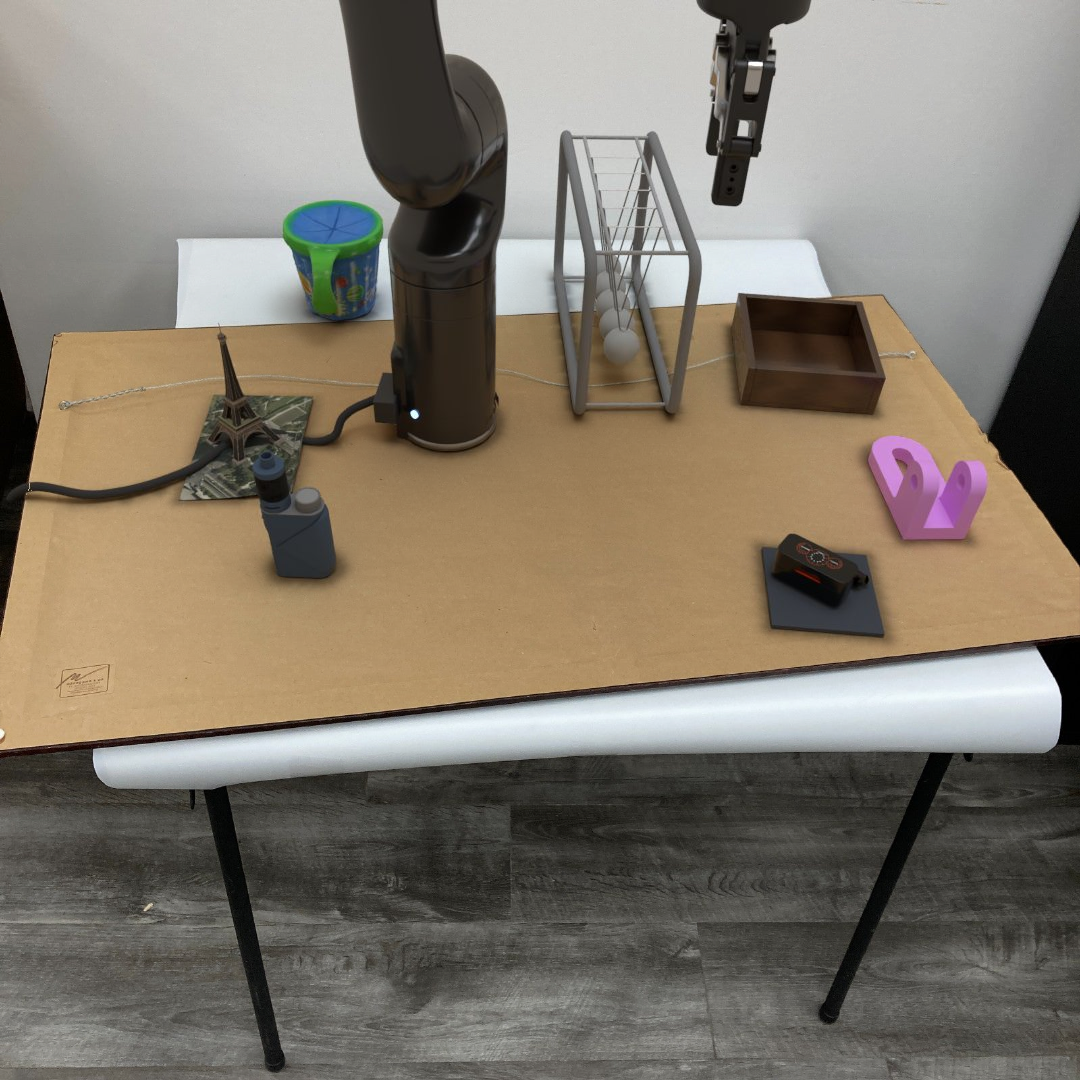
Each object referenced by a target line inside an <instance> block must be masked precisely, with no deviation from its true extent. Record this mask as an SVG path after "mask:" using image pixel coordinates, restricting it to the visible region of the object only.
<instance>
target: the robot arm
mask: <svg viewBox="0 0 1080 1080" xmlns="http://www.w3.org/2000/svg"><path fill="white" fill-rule="evenodd" d="M695 2H696V4H697V6H698V8H699V9H700V10H701V11H702V12H703V13H705V15H708V16H710V17H712V18H714V19H717V20H720V21H719V28H718V32H716V33H715V34H714V39H713V42H712V57H711V58H712V59H711V64H710V73H709V84H710V85H711V86H712V88H711V89H710V90H709V97H710V102H711V110H710V115H709V122H708V126H707V127H708V128H707V133H706V141H705V153H706V155H708V156H712V157H716V161H715V167H714V172H713V173H714V174H713V179H712V180H713V181H712V186H711V190H710V191H711V192H710V199H711V200H710V201H711V203H712V204H713V205H714V206H720V207H721V206H722V207H734V208H735V207H739V206H741V204H742V203H743V200H744V196H745V195H744V194H745V189H746V184H747V179H748V174H749V168H750V163H751V158H759V156H760V155H759V154H760V153H761V152H762V146H763V145H762V140H763V134H764V129H765V125H766V124H765V123H766V119H767V118H766V117H767V113H768V108H769V102H770V97H771V91H772V85H773V81H774V77H776V72H777V67H776V61H777V49H776V48H773V41H774V38H773V36H771V31H772V30H773V29H774V28H776V27H778V26H781V25H786V26H787V25H791V24H794V23H797V22H798V21H801V20H802V19H804V18H805V17H806V16H807V14H808V13H809V11H810V8H811V3H812V0H696V1H695ZM338 4H339V8H340V14H341V18H342V25H343V29H344V35H345V43H346V48H347V57H348V62H349V69H350V70H349V71H350V76H351V83H352V89H353V97H354V105H355V111H356V119H357V125H358V130H359V136H360V140H361V141H360V142H361V144H362V149H363V152H364V155H365V159H366V161H367V163H368V166H369V167H370V169H371V172H372V174H373V176H374V177H375V179H376V180H377V181H378V183H379V185H380V186H381V187H382V189H384V191H385V192H387V194H388V195H389V196H390V197H391V198H392V199H394V200H395V201H397V202H398V203H399V205H398V208H397V212H396V214H395V216H394V218H393V221H392V223H391V225H390V228H389V232H388V235H387V257H388V267H389V278H390V289H391V290H390V292H391V305H392V319H393V329H394V330H393V333H394V340H393V341H394V342H393V344H392V348H391V350H390V356H389V357H390V367H391V368H390V369H391V372H385V371H384V372H382V373H381V376H380V378H379V379H380V380H379V382H378V385H377V388H376V392H375V394H373V395H371V396H368V397H366V398H363V399H361V400H358V401H357V402H354V403H353V404H351V405H349V406H347V407H346V408H345V409H344V410H342V411H341V412H340V414H339V415H338V417H337V418H336V420H335V423H334V427H333V430H332V431H331V432H330V433H328V434H326V435H324V436H318V437H310V436H305V435H304V436H303V441H302V445H304V446H311V447H323V446H326V445H329V444H332V443H334V442H335V441H337V440H338V439H339V438H340V436H341V435H342V432H343V429H344V426H345V424H346V421H347V420H348V419H349V418H350V417H352V416H353V415H354V414H356V413H358V412H360V411H362V410H365V409H367V408H369V407H372V406H373V415H374V423H375V424H386V425H395V428H396V436H397V437H398V438H402V439H404V438H405V439H408V440H410V442H412V443H414V444H416V445H418V446H419V447H421V448H425V449H428V450H431V451H432V450H433V451H440V452H455V451H462V450H466V449H471V448H473V447H476V446H478V445H480V444H482V443H483V442H484V441H486V440H487V439H488V438H489V437H490V436H491V435H492V434H493V433H494V431H495V429H496V426H497V411H496V410H497V406H498V407H499V406H500V404H499V402H500V400H499V399H500V398H499V395H498V393H497V390H496V384H497V383H496V381H497V380H496V379H497V377H496V374H497V373H496V371H497V369H496V368H497V367H496V363H497V362H496V361H497V358H496V357H497V251H498V245H499V241H500V237H501V234H502V230H503V226H504V221H505V215H506V201H507V200H506V198H507V197H506V196H507V182H508V181H507V179H508V178H507V177H508V161H509V160H508V157H509V156H508V155H509V127H508V126H509V125H508V118H507V111H506V107H505V103H504V100H503V97H502V94H501V92H500V90H499V87H498V86H497V84H496V82H495V81H494V79H493V78H492V76H491V75H490V74H489V73H488V72H487V70H486V69H484V68H483V67H482V66H481V65H479V64H478V63H477V62H475V61H474V60H472V59H470V58H468V57H466V56H463V55H459V54H455V53H446V51H445V47H444V42H443V41H444V40H443V37H442V31H441V30H442V29H441V23H440V15H439V8H438V0H338ZM740 121H741V122H742V121H744V122H747V125H748V129H747V135H738V133H739V128H740ZM496 405H497V406H496ZM270 429H271V430H272V431H273V432H274V433H275V434H290V433H288V432H286V431H283V430H278V429H272V428H270ZM257 435H266V434H265V433H263V432H253V433H251V434H250V435H249V436H248V437H247V438H249V437H253V436H257ZM231 445H233V443H232V440H231V438H229V439H227V440H225V441H224V442H222V443H221V444H219V445H218V446H217V447H215V448H214V449H213V450H211V451H210V452H209V453H207V454H206V455H205V456H203V457H202V458H200V459H199V460H197V461H196V462H194V463H192V464H191V463H190V464H188V465H187V466H184V467H182V468H180V469H177V470H174V471H172V472H171V471H170V472H169V473H166V474H163V475H161V476H158V477H154V478H151V479H148V480H144V481H142V482H138V483H134V484H130V485H125V486H118V487H114V488H113V487H112V488H106V489H94V490H93V489H79V488H75V487H70V486H65V485H60V484H56V483H52V482H51V483H50V482H45V481H29V482H26V483H22V484H20V485H17V486H16V487H14V488H13V489H12V490H10V492H9V493H8V494H7V495H6V498H5V500H6V501H8V502H12V501H16V500H18V499H19V498H20V497H22V496H23V495H25V494H28V493H32V492H43V493H49V494H54V495H59V496H63V497H68V498H72V499H79V500H88V501H89V500H90V501H91V500H92V501H93V500H94V501H96V500H109V499H115V498H121V497H127V496H132V495H135V494H136V495H137V494H140V493H144V492H148V491H151V490H154V489H157V488H160V487H163V486H166V485H168V484H171V483H174V482H177V481H179V480H181V479H184V478H186V477H187V476H189V475H191V474H193V473H195V472H196V471H198V470H200V469H201V468H203V467H205V466H206V465H207V464H209V463H210V462H212V461H213V460H214V459H215V458H217V457H218V456H219V455H220V454H221V452H223V451H224V450H226V449H227V448H228V447H230V446H231ZM29 483H30V489H29ZM28 489H29V491H28ZM31 490H32V491H31Z"/></svg>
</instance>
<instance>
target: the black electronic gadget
mask: <svg viewBox="0 0 1080 1080" xmlns="http://www.w3.org/2000/svg"><path fill="white" fill-rule="evenodd" d="M777 548H778V549H777V552H776V555H775V559H774V562H773V566H772V575H773V576H774V577H776V578H778V579H780V580H782V581H784V582H786V583H787V584H789V585H791V586H793V587H795V588H797V589H799V590H801V591H803V592H805V593H807V594H809V595H811V596H813V597H815V598H816V599H818V600H820V601H822V602H824V603H826V604H828V605H830V606H832V607H838V606H839V605H841V603H842V602H843V601H844V599H845V598H846V597H847V595H848V594H849V593H850V590H851V588H852V585H853V586H854V587H855V588H858V587H860V586H861V585H862V584H864V585H866V584H868V583H869V582H870V581H871V580H870V578H869V576H868V575H865V574H864V573H862V572H861V571H860V570H858V569H859V567H858V565H857V564H856V563H854V562H852V561H850V560H848V559H846V558H844V557H842V556H840V555H838V554H836V553H837V552H836V553H834V551H831V550H830V549H828V548H826V547H824V546H822V545H819V544H817V543H815V542H814V541H811V540H810V539H808V538H805V537H803V536H801V535H799V534H798V533H797V534H796V533H789V534H787V535H786V536H785V537H784V538H783V540H782V541H781V542H780V543H779V545H778V546H777Z"/></svg>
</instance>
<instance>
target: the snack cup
mask: <svg viewBox="0 0 1080 1080" xmlns="http://www.w3.org/2000/svg"><path fill="white" fill-rule="evenodd" d="M383 237H384V221H383V218H382V216H381V214H380V213H379V212H378V211H377V210H375V209H374V208H372V207H370V206H368V205H366V204H364V203H360V202H357V201H351V200H345V199H329V200H328V199H326V200H320V201H319V200H318V201H313V202H310V203H307V204H303V205H301V206H298V207H297V208H294V209H293V210H292V211H290V212H289V213H288V214H287V215H286V216H285V218H284V219H283V222H282V238H283V240H284V243H285V244H286V245H287V246H288V247H289V249H290V250H291V253H292V259H293V261H294V265H295V268H296V272H297V276H298V278H299V281H300V283H301V287H302V290H303V293H304V297H305V300H306V302H307V304H308V307H309V309H310V312H312V313H314V314H317V315H319V316H321V317H322V318H325V319H329V320H333V321H336V322H337V321H341V320H352V319H355V318H359V317H360V316H362V315H367V314H368V313H369V312H371V309H372V308H373V307H374V305H375V302H376V297H377V295H376V294H377V284H378V276H379V261H380V260H379V259H380V245H381V242H382V239H383Z"/></svg>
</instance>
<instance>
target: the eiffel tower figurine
mask: <svg viewBox="0 0 1080 1080" xmlns="http://www.w3.org/2000/svg"><path fill="white" fill-rule="evenodd" d="M217 324H218V328H219V333H218V334H217V335H216V336H217V337H216V338H217V341H218V342H219V348H220V353H221V360H222V361H221V362H222V369H223V377H224V388H225V392H224V394H213V395H212V399H211V401H210V405H209V407H208V411H207V414H206V417H205V420H204V423H203V426H202V428H201V432H200V435H199V438H198V441H197V443H196V446H195V450H194V452H193V456H192V459H191V462H190V464H192V463H194V462H196V461H197V460H199V459H200V458H202V457H203V456H205V455H206V454H207V453H209V452H210V451H211V450H213V449H214V448H215V447H217V446H218V445H219V444H221V443H222V442H224V441H225V440H227V439H229V438H231V440H232V443H233V445H231V446H230V447H228V448H227V449H226V450H224V451H223V452H221V454H220V455H219V456H218V457H217V458H215V459H214V460H213V461H212V462H210V463H209V464H207V465H206V466H205V467H203V468H201V469H200V470H198V471H196V472H195V473H193V474H191V475H189V476H186V477H185V480H184V484H183V487H182V490H181V493H180V496H179V499H178V501H191V500H193V501H194V500H215V499H216V500H217V499H229V498H230V499H231V498H232V499H233V498H240V497H248V496H256V495H257V496H258V491H257V487H256V482H255V477H254V473H253V468H252V466H253V463H254V462H255V461H256V460H257V459H258V458H259V455H260V453H262V452H264V451H270V452H272V453H273V455H274V456H277V457H280V458H281V459H282V460H283V462H284V466H285V471H286V476H287V482H288V487H289V492H290V494H293V493H292V491H293V487H294V482H295V478H296V474H297V469H298V465H299V462H300V456H301V449H302V446H303V444H302V441H303V436H305V431H306V428H307V423H308V419H309V414H310V411H311V408H312V404H313V400H314V396H313V395H311V396H310V395H306V396H305V395H255V394H254V395H253V394H252V395H251V394H248V395H247V394H244V392H243V391H242V388H241V385H240V383H239V380H238V377H237V374H236V370H235V367H234V364H233V361H232V358H231V355H230V351H229V348H228V344H227V338H228V337H227V336H226V335H225V333H223V332H222V330H221V325H220V322H218V323H217ZM270 428H272V429H278V430H283V431H286V432H288V433H290V434H275V433H274V432H273V431H272V430H271V429H270ZM253 432H263V433H265V434H266V435H257V436H253V437H249V438H247V437H248V436H249V435H250V434H251V433H253Z"/></svg>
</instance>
